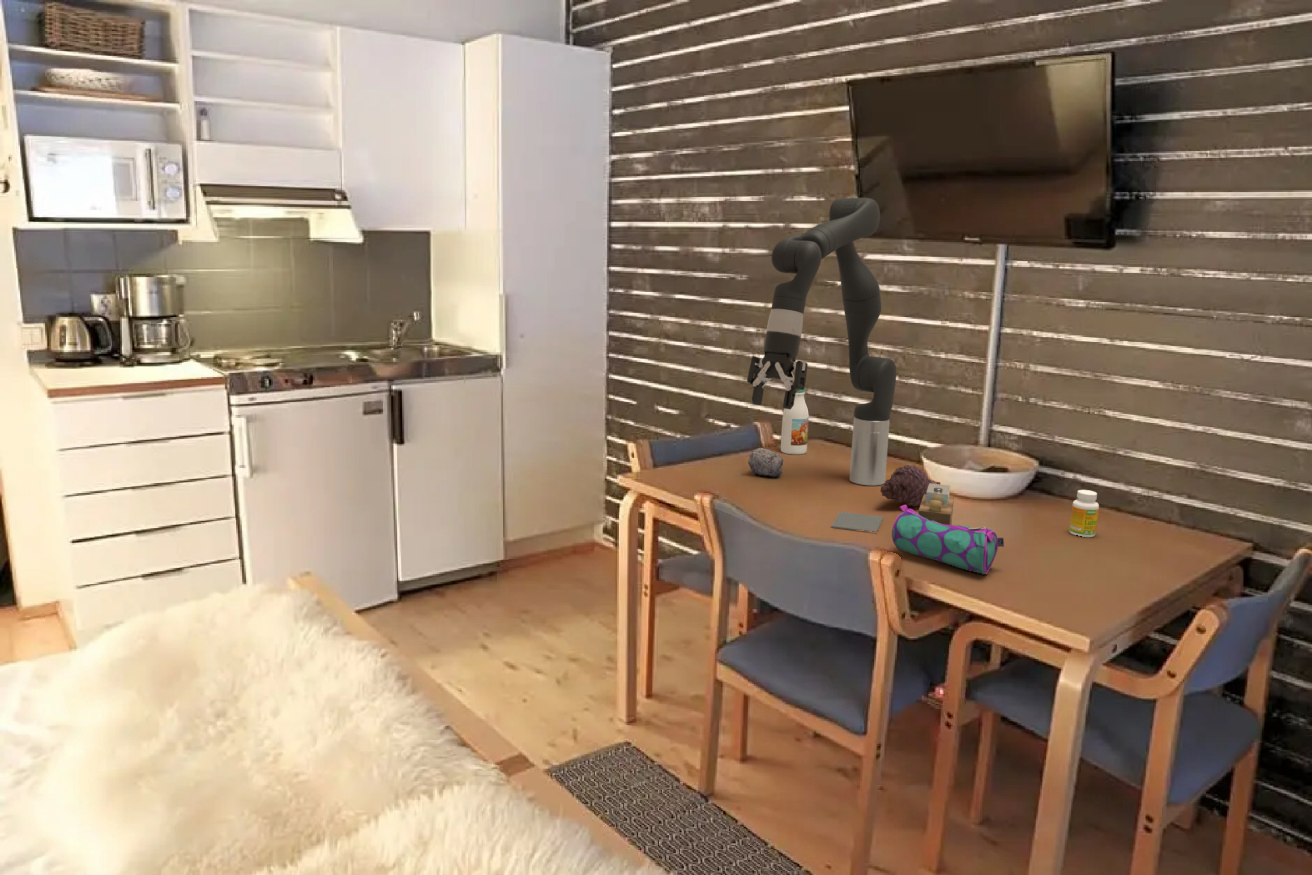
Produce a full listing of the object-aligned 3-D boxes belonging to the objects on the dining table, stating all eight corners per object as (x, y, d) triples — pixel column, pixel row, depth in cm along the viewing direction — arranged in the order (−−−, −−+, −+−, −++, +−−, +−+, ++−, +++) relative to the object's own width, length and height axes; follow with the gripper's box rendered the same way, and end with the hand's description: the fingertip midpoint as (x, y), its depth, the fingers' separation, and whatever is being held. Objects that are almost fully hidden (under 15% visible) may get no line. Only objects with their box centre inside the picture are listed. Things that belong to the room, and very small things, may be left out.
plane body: (920, 525, 217) (924, 485, 214) (951, 529, 214) (955, 488, 212) (914, 544, 203) (918, 501, 201) (948, 548, 201) (952, 505, 199)
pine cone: (892, 515, 223) (895, 474, 221) (864, 504, 232) (867, 465, 230) (948, 507, 232) (951, 467, 229) (919, 496, 240) (922, 458, 238)
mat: (839, 513, 224) (840, 511, 224) (883, 518, 221) (883, 516, 221) (831, 527, 213) (831, 525, 213) (876, 533, 210) (876, 531, 210)
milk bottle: (780, 454, 281) (783, 387, 277) (781, 448, 289) (784, 383, 284) (806, 455, 280) (810, 388, 276) (806, 449, 287) (810, 384, 283)
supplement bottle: (1084, 539, 210) (1089, 496, 208) (1063, 531, 215) (1068, 490, 212) (1100, 535, 212) (1106, 494, 210) (1080, 528, 217) (1085, 487, 215)
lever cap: (928, 496, 213) (929, 481, 212) (949, 498, 212) (950, 483, 211) (925, 505, 206) (926, 490, 205) (946, 508, 204) (948, 492, 203)
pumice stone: (789, 484, 257) (768, 466, 265) (796, 459, 254) (774, 442, 261) (758, 488, 252) (738, 469, 259) (766, 462, 248) (744, 444, 256)
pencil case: (1001, 569, 190) (1006, 523, 188) (983, 580, 184) (988, 533, 181) (906, 544, 204) (910, 501, 201) (886, 554, 197) (889, 510, 195)
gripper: (820, 337, 203) (808, 412, 204) (769, 333, 213) (757, 405, 214) (799, 331, 198) (786, 408, 198) (747, 328, 208) (735, 401, 209)
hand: (771, 406), depth 206 cm, fingers open, 8 cm apart
